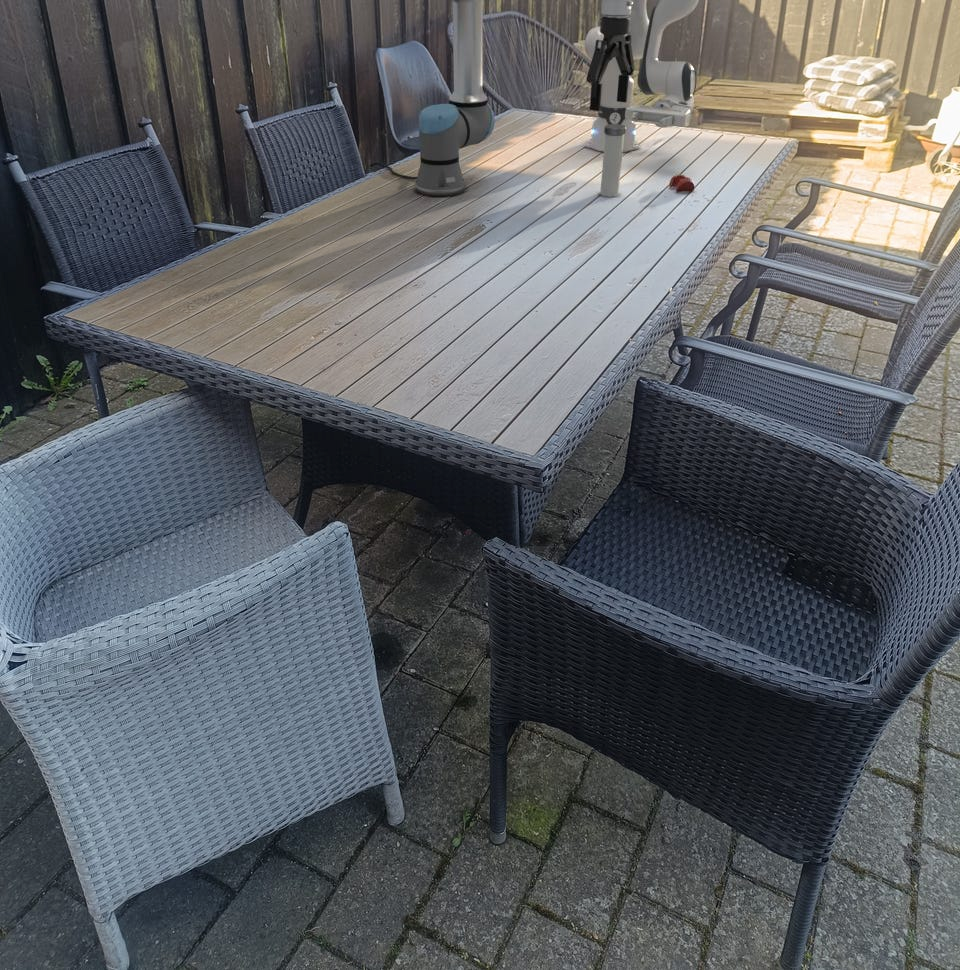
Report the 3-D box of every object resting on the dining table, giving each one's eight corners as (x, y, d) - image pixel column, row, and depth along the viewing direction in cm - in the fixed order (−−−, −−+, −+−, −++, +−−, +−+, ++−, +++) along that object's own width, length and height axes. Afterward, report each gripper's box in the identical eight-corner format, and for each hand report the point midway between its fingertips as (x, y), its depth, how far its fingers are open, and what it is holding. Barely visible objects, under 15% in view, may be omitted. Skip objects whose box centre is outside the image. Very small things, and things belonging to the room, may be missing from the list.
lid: (628, 132, 245) (629, 125, 244) (619, 136, 241) (620, 129, 240) (609, 129, 248) (610, 122, 247) (600, 133, 244) (601, 127, 243)
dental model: (685, 170, 259) (697, 178, 253) (684, 184, 262) (695, 192, 256) (668, 172, 258) (679, 180, 252) (667, 186, 261) (678, 194, 255)
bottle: (621, 193, 256) (627, 127, 244) (613, 198, 252) (619, 131, 241) (605, 190, 258) (610, 124, 247) (597, 195, 254) (602, 128, 243)
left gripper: (602, 22, 204) (595, 116, 216) (653, 12, 219) (644, 100, 232) (576, 19, 207) (570, 112, 220) (628, 10, 223) (620, 96, 236)
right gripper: (636, 98, 273) (617, 105, 263) (696, 105, 264) (679, 113, 254) (634, 118, 276) (615, 127, 267) (693, 126, 267) (676, 135, 258)
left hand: (608, 106), depth 226 cm, fingers open, 13 cm apart
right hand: (647, 120), depth 261 cm, fingers open, 8 cm apart
